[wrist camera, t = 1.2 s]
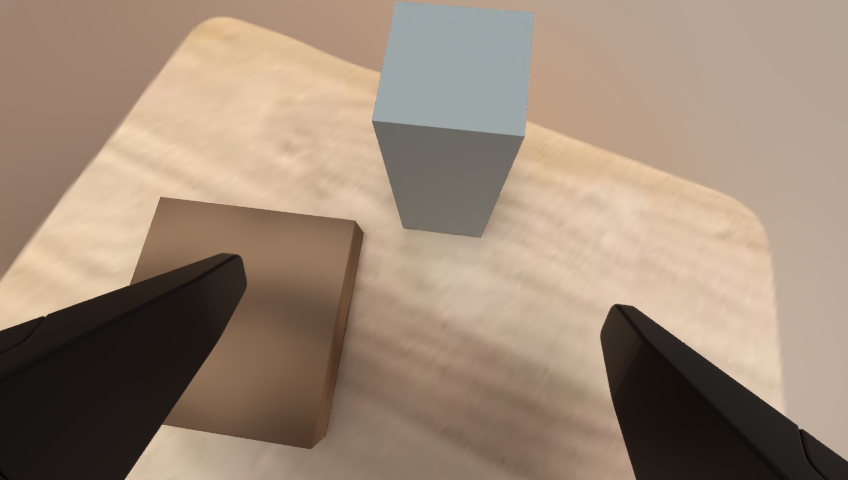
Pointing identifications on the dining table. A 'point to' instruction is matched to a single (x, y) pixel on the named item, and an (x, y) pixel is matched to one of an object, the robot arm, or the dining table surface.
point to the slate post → (452, 111)
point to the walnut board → (263, 316)
